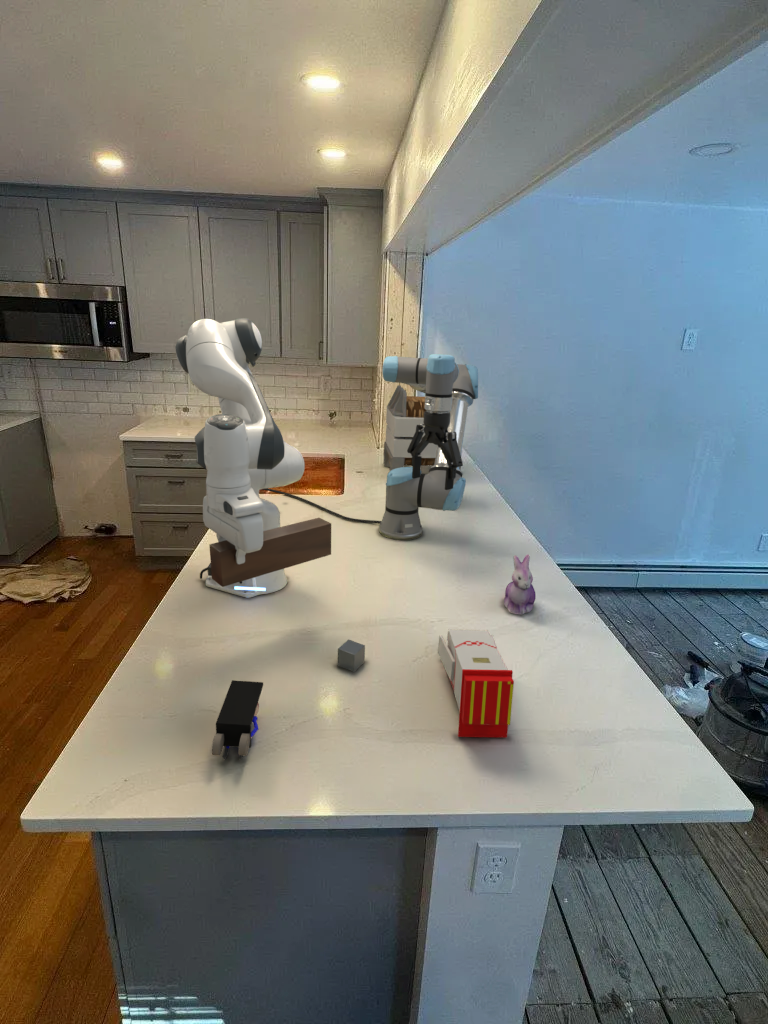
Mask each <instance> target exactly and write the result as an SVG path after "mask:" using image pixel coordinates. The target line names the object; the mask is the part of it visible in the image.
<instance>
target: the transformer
mask: <svg viewBox="0 0 768 1024" xmlns="http://www.w3.org/2000/svg"><path fill="white" fill-rule="evenodd" d="M407 394H408V393H407V390H406V389H404V388H403V387H402V385H399V384H398V385H397V386H396V388H395V390H394V392H393V394H392V395H391V398H390V400H389V402H388V404H387V405H386V413H385V414H386V415H385V423H386V428H385V438H384V442H383V466H384V467H388V468H389V472H390V471H391V470H393V469H396V468H401V467H405V466H406V467H413V466H412V456H411V454H410V453H408V452H407V450H408V447H409V445H410V443H411V441H412V439H413V436H414V434H415V432H416V426H417V425H419V424H424V423H423V420H424V412H425V411H426V410H425V409H424V407H425V396H415V395H414V396H413V395H412V396H411V395H407ZM424 435H425V433H424V434H423V436H422V438H423V437H424ZM422 438H421V439H422ZM420 442H421V441H420ZM436 451H437V445H435V444H433V443H429V444H428V445H427V446H426V447H425V449H424V450H423V451H422V452H421V455H418V456H422V457H421V467H432V466H433V465H434V464H435V457H436ZM462 453H463V450H462V451H461V454H462ZM461 459H462V457H461ZM462 460H463V459H462ZM459 469H460V470H461V471H462V466H461V467H459Z"/></svg>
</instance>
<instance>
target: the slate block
mask: <svg viewBox="0 0 768 1024" xmlns="http://www.w3.org/2000/svg"><path fill="white" fill-rule="evenodd" d="M365 660H366V645H365V644H363V643H360V642H357V641H354V640H351V639H347V640H346V641H345V642H344V643H342V644H341V645H340V646H339V647H338V648H337V661H336V662H337V663H336V665H337V666H338V667H339V668H343V669H345V670H348V671H351V672H353V673H355V672H356V671H357V670H358V669H359V668H360V667H361V666H363V664H364V663H365V662H366V661H365Z"/></svg>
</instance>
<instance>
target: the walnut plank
mask: <svg viewBox="0 0 768 1024" xmlns="http://www.w3.org/2000/svg"><path fill="white" fill-rule="evenodd" d="M236 552H237V550H236V549H235V545H233V544H232V543H230V542H229V541H227V540H225V541H221V542H218V541H216V542H213V543H209V556H210V557H209V559H210V563H211V573H212V579H213V580H214V581H216V582H217V583H218V584H219V585H221V586H222V587H224V586H228V585H231V584H234V583H238V582H241V581H244V580H248V579H251V578H254V577H258V576H261V575H264V574H268V573H271V572H274V571H278V570H281V569H284V570H285V569H288V568H291V567H294V566H297V565H301V564H304V563H307V562H311V561H314V560H318V559H321V558H325V557H328V556H331V555H332V522H330V521H327V520H326V519H323V518H321V517H315V518H311V519H307V520H304V521H299V522H295V523H292V524H286V525H283V526H280V527H278V528H274V529H270V530H266V531H263V546H262V548H261V549H260V550H258V551H254V552H250V553H246V554H245V562H244V563H242V564H237V563H236V562H235V561H234V555H235V554H236Z"/></svg>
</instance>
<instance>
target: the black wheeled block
mask: <svg viewBox="0 0 768 1024" xmlns="http://www.w3.org/2000/svg"><path fill="white" fill-rule="evenodd" d="M263 687H264V682H262V681H249V680H235V679H232V680H231V682H230V684H229V686H228V690H227V692H226V694H225V698H224V700H223V703H222V706H221V708H220V711H219V713H218V715H217V718H216V722H215V734H214V735H213V736H214V737H213V740H212V744H211V756H215V757H221V755H222V758H223V760H226V759H228V756H229V752H230V748H238V751H237V752H238V758H239V760H240V761H241V760H242V759H243V758H244V756H245V757H246V756H247V755H248V753H249V750H250V748H251V746H252V738H253V737H254V735H255V734H256V733H257V732H258V731H259V726H258V725H259V724H258V722H257V721H258V717H257V715H258V713H259V711H260V703H259V702H260V701H259V700H260V697H261V693H262V690H263ZM252 725H253V729H252ZM223 749H224V750H223Z"/></svg>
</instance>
